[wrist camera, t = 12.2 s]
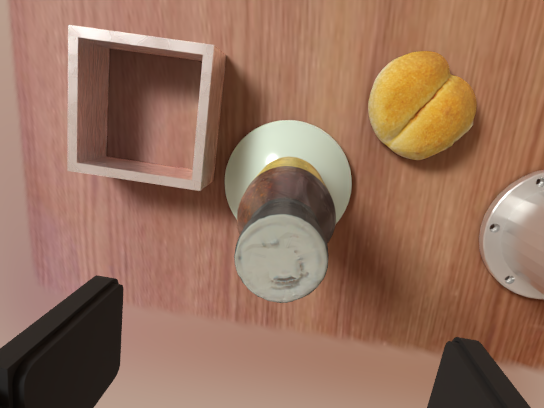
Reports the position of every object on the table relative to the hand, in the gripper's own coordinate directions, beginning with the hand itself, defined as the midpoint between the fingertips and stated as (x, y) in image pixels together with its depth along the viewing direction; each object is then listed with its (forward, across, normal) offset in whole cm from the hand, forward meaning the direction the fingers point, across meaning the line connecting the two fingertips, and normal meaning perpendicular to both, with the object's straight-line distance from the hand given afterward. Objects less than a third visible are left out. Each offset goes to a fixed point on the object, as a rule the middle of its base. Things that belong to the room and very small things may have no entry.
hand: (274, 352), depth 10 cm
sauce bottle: (+25, +1, 0) cm, 25 cm away
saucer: (+26, +1, 0) cm, 26 cm away
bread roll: (+26, -10, -9) cm, 30 cm away
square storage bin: (+26, +14, -5) cm, 30 cm away
